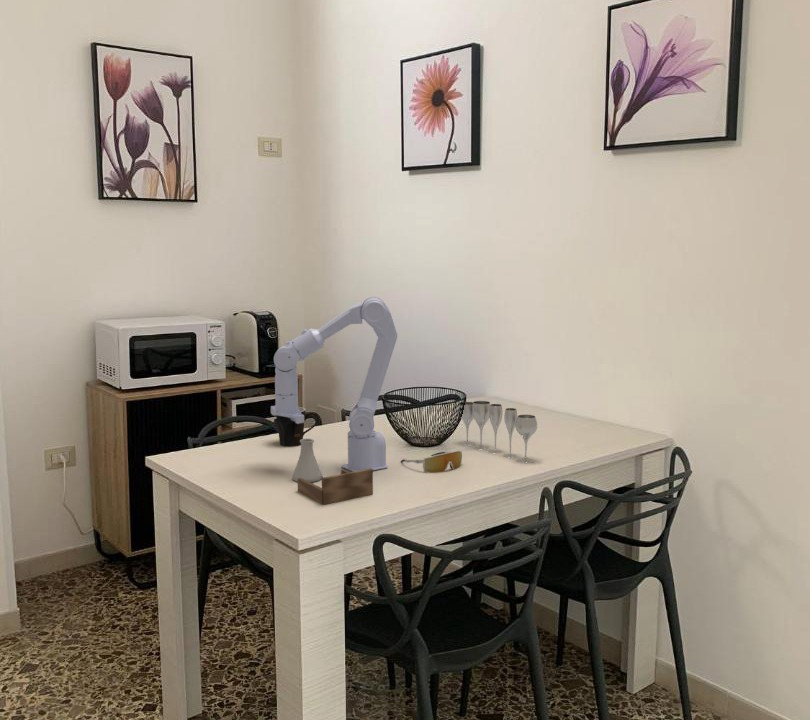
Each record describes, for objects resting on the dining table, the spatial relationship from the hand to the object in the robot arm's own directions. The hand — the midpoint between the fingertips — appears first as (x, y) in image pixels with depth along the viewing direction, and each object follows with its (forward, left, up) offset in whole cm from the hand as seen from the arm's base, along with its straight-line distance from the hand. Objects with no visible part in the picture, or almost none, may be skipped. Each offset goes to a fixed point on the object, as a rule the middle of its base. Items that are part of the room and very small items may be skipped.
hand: (287, 445), depth 212 cm
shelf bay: (0, +23, -6) cm, 24 cm away
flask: (0, +10, -7) cm, 12 cm away
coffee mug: (-14, -22, -7) cm, 27 cm away
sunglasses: (-33, +18, -7) cm, 38 cm away
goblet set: (-55, +18, -7) cm, 58 cm away
